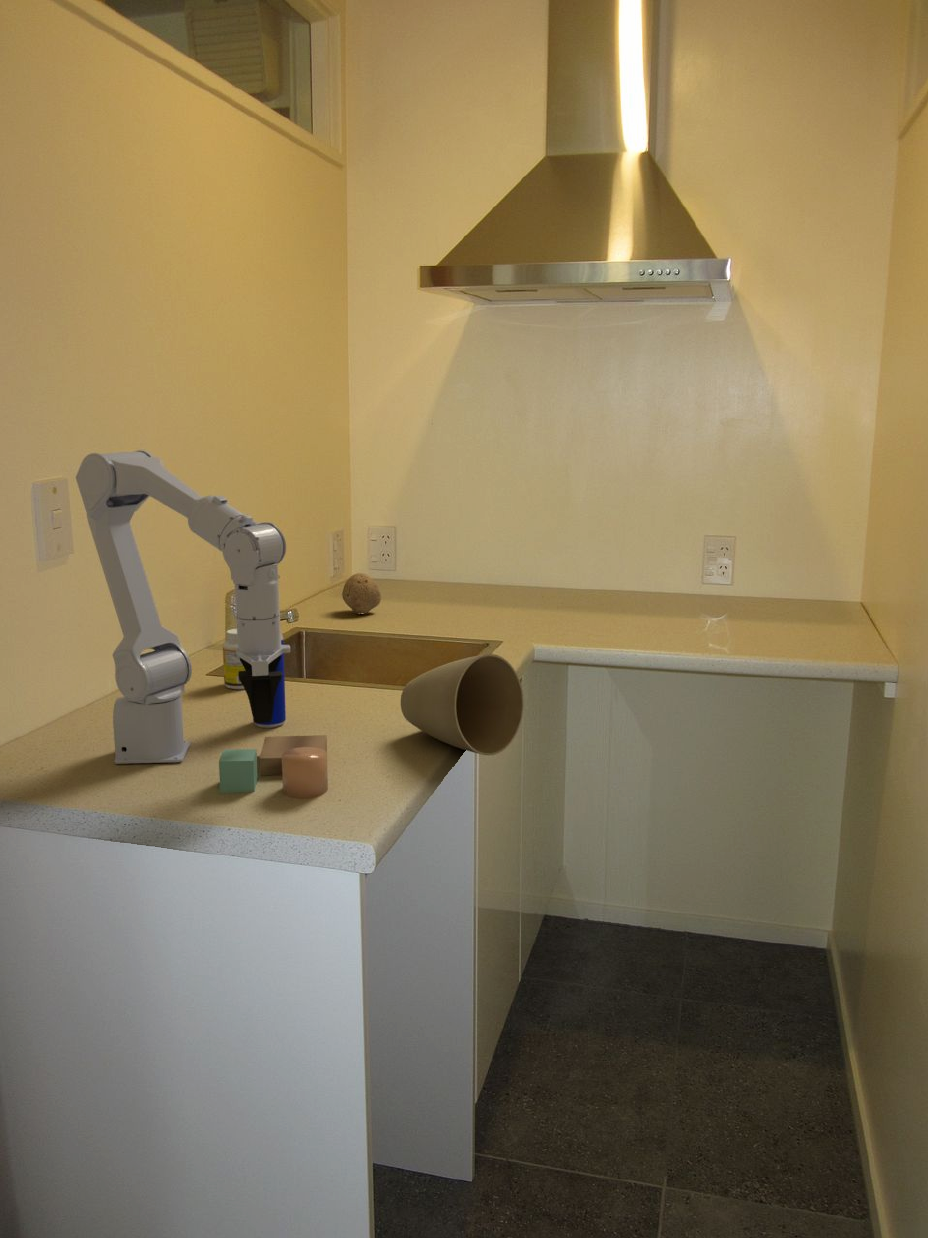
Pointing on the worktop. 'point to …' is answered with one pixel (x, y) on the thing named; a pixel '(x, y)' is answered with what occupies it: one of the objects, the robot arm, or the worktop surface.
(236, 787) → the cube
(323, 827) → the worktop surface
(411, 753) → the worktop surface
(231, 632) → the supplement bottle
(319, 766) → the rounded knob
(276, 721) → the beverage can
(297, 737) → the base
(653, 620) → the worktop surface
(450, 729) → the plant pot
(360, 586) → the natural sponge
